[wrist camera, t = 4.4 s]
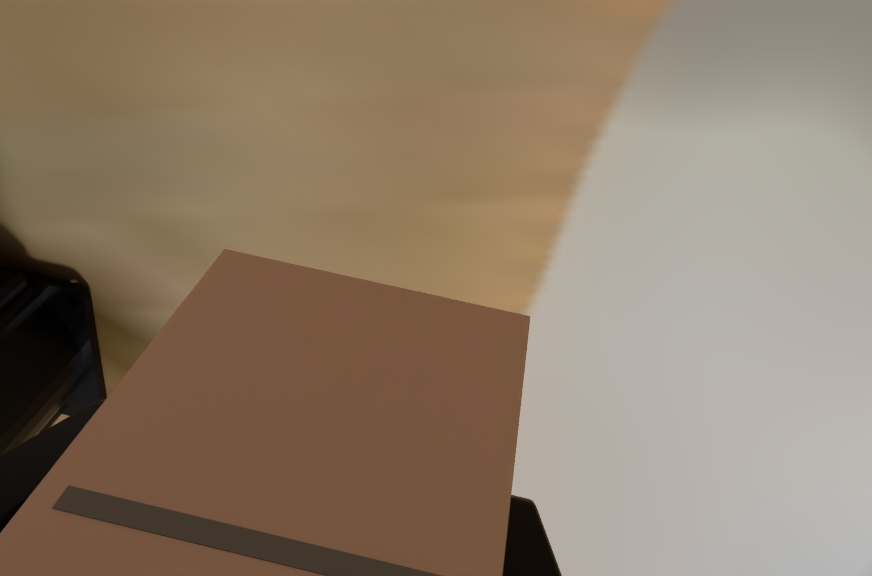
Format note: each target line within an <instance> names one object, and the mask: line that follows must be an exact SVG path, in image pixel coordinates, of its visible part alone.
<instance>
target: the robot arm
mask: <svg viewBox="0 0 872 576" xmlns="http://www.w3.org/2000/svg"><path fill="white" fill-rule="evenodd" d="M72 296H73V297H74V298H75V299H74V298H73V297H72ZM105 400H106V393H105V387H104V380H103V374H102V368H101V361H100V355H99V348H98V342H97V336H96V329H95V323H94V316H93V310H92V304H91V298H90V295H89V293H88V292H87V290H86V289H85V288H83V287H82V286H81V285H78V284H76V283H71V282H67V281H62V280H58V279H54V278H49V277H45V276H40V275H36V274H31V273H27V272H23V271H18V270H14V269H9V268H5V267H0V533H1V532H2V530H3V529H4V528H5V527H6V525H7V524H8V523H9V522H10V520H11V519H12V518H13V516H14V515H15V514H16V513H17V511H18V510H19V509H20V508H21V506H22V505H23V504H24V503H25V501H26V500H27V499H28V497H29V496H30V495H31V494H32V492H33V491H34V490H35V489H36V487H37V486H38V485H39V484H40V482H41V481H42V480H43V478H44V477H45V476H46V475H47V473H48V472H49V471H50V470H51V468H52V467H53V466H54V465H55V463H56V462H57V461H58V459H59V458H60V457H61V456H62V454H63V453H64V452H65V451H66V449H67V448H68V447H69V446H70V444H71V443H72V442H73V440H74V439H75V438H76V437H77V435H78V434H79V433H80V432H81V430H82V429H83V428H84V427H85V425H86V424H87V423H88V422H89V420H90V419H91V418H92V416H93V415H94V414H95V413H96V411H97V410H98V409H99V408H100V406H101V405H102V404H103V403H104V401H105ZM61 414H65V415H69V416H70V417H68V418H66V419H64V420H62V421H61V422H59V423H57V424H55V425H54V426H52V425H53V424H54V422H55V421H56V420H57V419H58V418H59V416H60V415H61ZM51 426H52V427H51ZM502 576H561V573H560V570H559V568H558V564H557V562H556V559H555V556H554V554H553V551H552V548H551V545H550V543H549V540H548V537H547V535H546V532H545V529H544V526H543V524H542V521H541V518H540V515H539V513H538V510H537V508H536V505H535V504H534V502H533V501H532V500H530V499H526V498H523V497H518V496H514V495H511V500H510V509H509V519H508V528H507V537H506V547H505V556H504V565H503V574H502Z"/></svg>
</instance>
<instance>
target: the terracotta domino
mask: <svg viewBox="0 0 872 576" xmlns="http://www.w3.org/2000/svg"><path fill="white" fill-rule="evenodd" d="M529 323H530V316H526V315H521V314H517V313H512V312H508V311H503V310H499V309H494V308H489V307H485V306H480V305H476V304H471V303H467V302H462V301H458V300H453V299H449V298H444V297H440V296H435V295H431V294H426V293H421V292H417V291H412V290H408V289H403V288H399V287H394V286H390V285H385V284H381V283H376V282H372V281H367V280H363V279H358V278H354V277H349V276H344V275H340V274H335V273H331V272H326V271H322V270H317V269H313V268H308V267H304V266H299V265H295V264H290V263H286V262H281V261H276V260H272V259H267V258H263V257H258V256H254V255H249V254H245V253H240V252H236V251H231V250H227V249H224V251H223V252H222V253H221V254H220V256H219V257H218V258H217V259H216V261H215V262H214V263H213V265H212V266H211V267H210V268H209V270H208V271H207V272H206V273H205V275H204V276H203V277H202V278H201V280H200V281H199V282H198V284H197V285H196V286H195V287H194V289H193V290H192V291H191V292H190V294H189V295H188V296H187V297H186V299H185V300H184V301H183V303H182V304H181V305H180V306H179V308H178V309H177V310H176V311H175V313H174V314H173V315H172V316H171V318H170V319H169V320H168V322H167V323H166V324H165V325H164V327H163V328H162V329H161V330H160V332H159V333H158V334H157V335H156V337H155V338H154V339H153V340H152V342H151V343H150V344H149V346H148V347H147V348H146V349H145V351H144V352H143V353H142V354H141V356H140V357H139V358H138V359H137V361H136V362H135V363H134V365H133V366H132V367H131V368H130V370H129V371H128V372H127V373H126V375H125V376H124V377H123V378H122V380H121V381H120V382H119V384H118V385H117V386H116V387H115V389H114V390H113V391H112V392H111V394H110V395H109V396H108V397H107V399H106V400H105V401H104V403H103V404H102V405H101V406H100V408H99V409H98V410H97V411H96V413H95V414H94V415H93V416H92V418H91V419H90V420H89V422H88V423H87V424H86V425H85V427H84V428H83V429H82V430H81V432H80V433H79V434H78V435H77V437H76V438H75V439H74V440H73V442H72V443H71V444H70V446H69V447H68V448H67V449H66V451H65V452H64V453H63V454H62V456H61V457H60V458H59V459H58V461H57V462H56V463H55V465H54V466H53V467H52V468H51V470H50V471H49V472H48V473H47V475H46V476H45V477H44V478H43V480H42V481H41V482H40V484H39V485H38V486H37V487H36V489H35V490H34V491H33V492H32V494H31V495H30V496H29V497H28V499H27V500H26V501H25V503H24V504H23V505H22V506H21V508H20V509H19V510H18V511H17V513H16V514H15V515H14V516H13V518H12V519H11V520H10V522H9V523H8V524H7V525H6V527H5V528H4V529H3V530H2V532H1V533H0V576H502V574H503V565H504V556H505V547H506V537H507V528H508V519H509V509H510V500H511V490H512V481H513V471H514V462H515V453H516V444H517V434H518V425H519V416H520V406H521V397H522V387H523V378H524V368H525V360H526V351H527V341H528V332H529Z"/></svg>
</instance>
